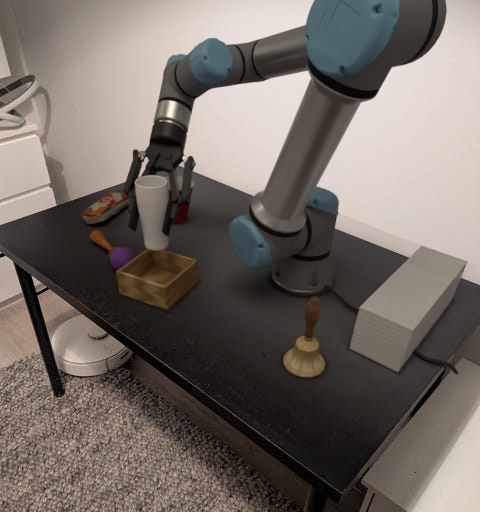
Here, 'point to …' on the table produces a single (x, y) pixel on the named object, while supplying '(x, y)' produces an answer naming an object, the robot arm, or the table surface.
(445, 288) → the stack of papers
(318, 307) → the hand bell
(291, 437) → the table surface
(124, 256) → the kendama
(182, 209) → the plastic cup
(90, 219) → the pencil case
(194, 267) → the bin
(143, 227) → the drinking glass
